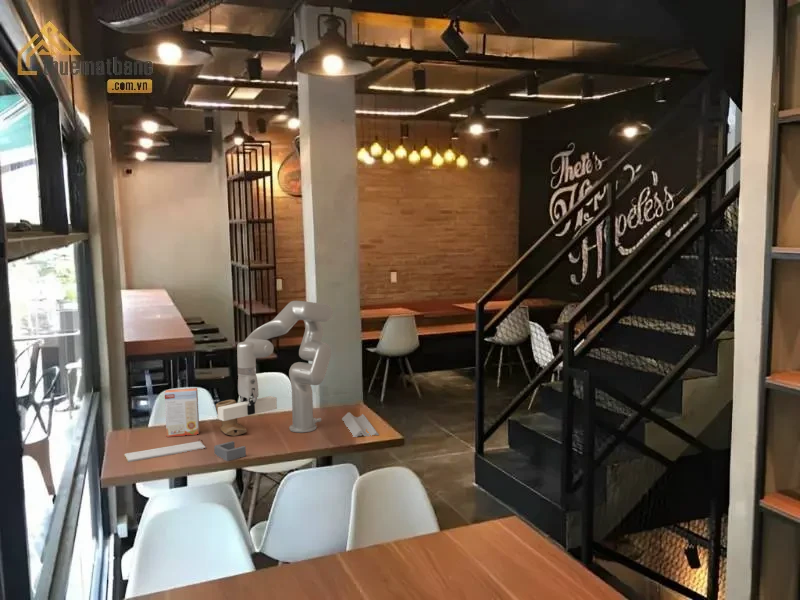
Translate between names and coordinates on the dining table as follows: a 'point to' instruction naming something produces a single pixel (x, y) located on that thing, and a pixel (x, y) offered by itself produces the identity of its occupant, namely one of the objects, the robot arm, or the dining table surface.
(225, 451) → the end cap
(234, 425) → the tan boot
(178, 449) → the baseboard molding
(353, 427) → the crown molding
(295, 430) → the robot arm
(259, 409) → the cream white rectangular bar
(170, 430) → the cracker box
